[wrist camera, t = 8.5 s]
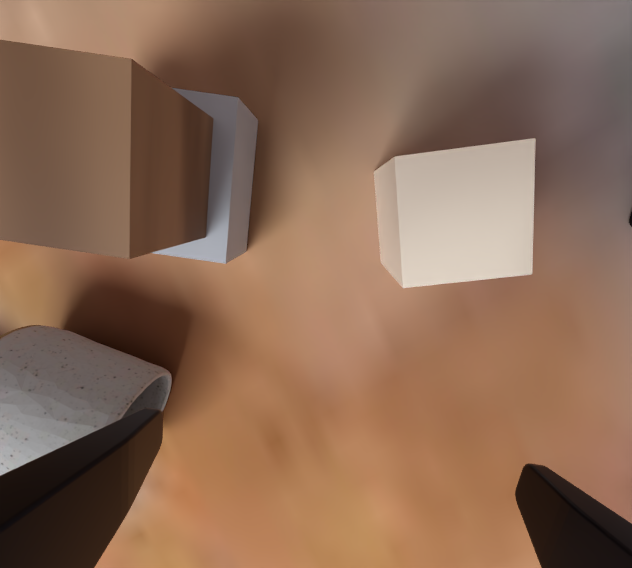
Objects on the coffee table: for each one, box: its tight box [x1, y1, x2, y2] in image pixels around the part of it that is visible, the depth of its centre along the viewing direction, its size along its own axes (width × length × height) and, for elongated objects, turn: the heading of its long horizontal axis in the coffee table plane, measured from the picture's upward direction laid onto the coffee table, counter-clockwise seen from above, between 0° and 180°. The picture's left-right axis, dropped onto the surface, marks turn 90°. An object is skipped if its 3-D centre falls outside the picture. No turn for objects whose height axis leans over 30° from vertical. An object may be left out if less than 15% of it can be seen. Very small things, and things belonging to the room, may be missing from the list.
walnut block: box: [0, 40, 214, 259], centre depth 12 cm, size 5×5×6 cm
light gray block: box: [152, 88, 258, 264], centre depth 17 cm, size 7×7×4 cm
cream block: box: [374, 138, 536, 288], centre depth 16 cm, size 5×5×6 cm
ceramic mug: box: [0, 325, 172, 475], centre depth 18 cm, size 11×8×8 cm
